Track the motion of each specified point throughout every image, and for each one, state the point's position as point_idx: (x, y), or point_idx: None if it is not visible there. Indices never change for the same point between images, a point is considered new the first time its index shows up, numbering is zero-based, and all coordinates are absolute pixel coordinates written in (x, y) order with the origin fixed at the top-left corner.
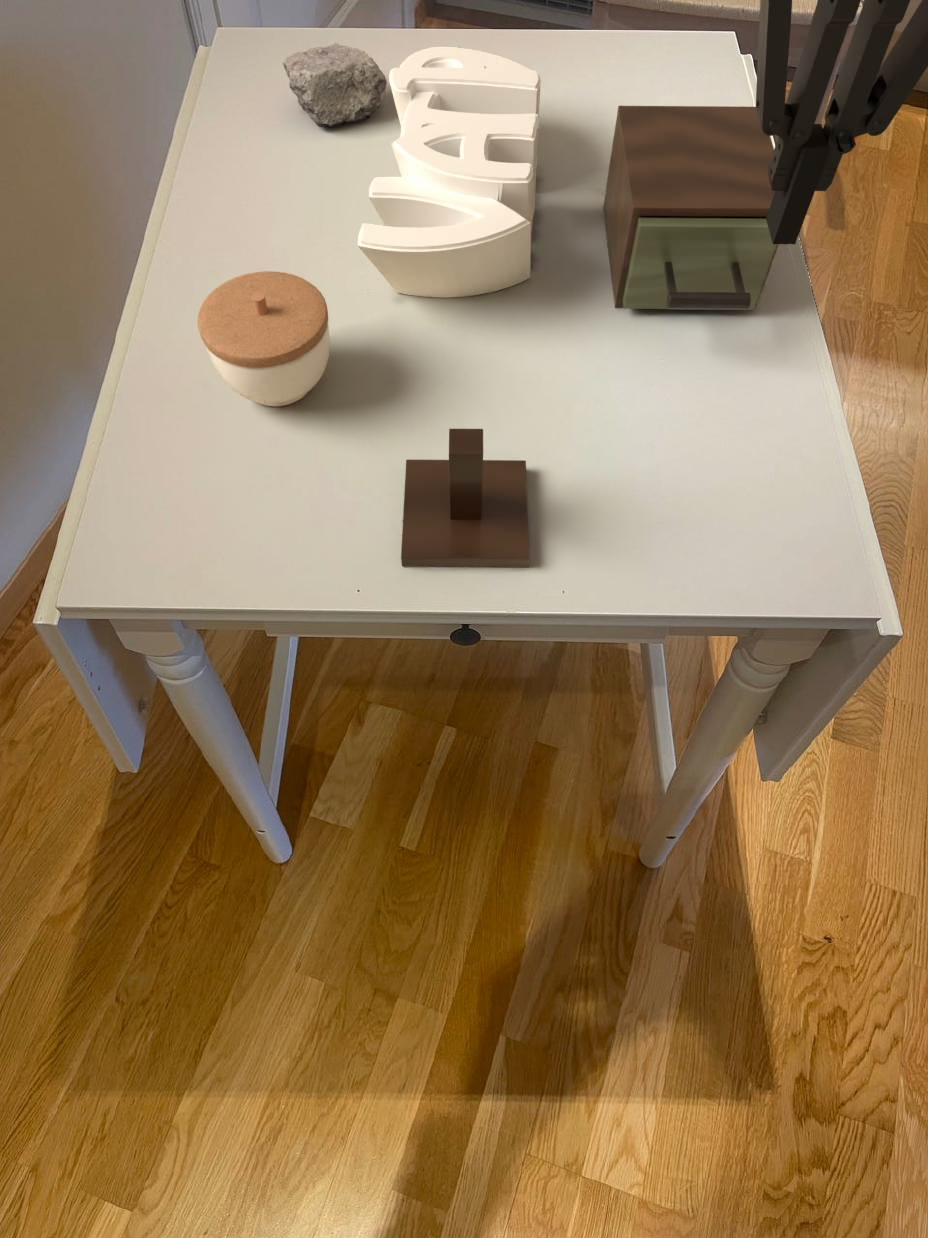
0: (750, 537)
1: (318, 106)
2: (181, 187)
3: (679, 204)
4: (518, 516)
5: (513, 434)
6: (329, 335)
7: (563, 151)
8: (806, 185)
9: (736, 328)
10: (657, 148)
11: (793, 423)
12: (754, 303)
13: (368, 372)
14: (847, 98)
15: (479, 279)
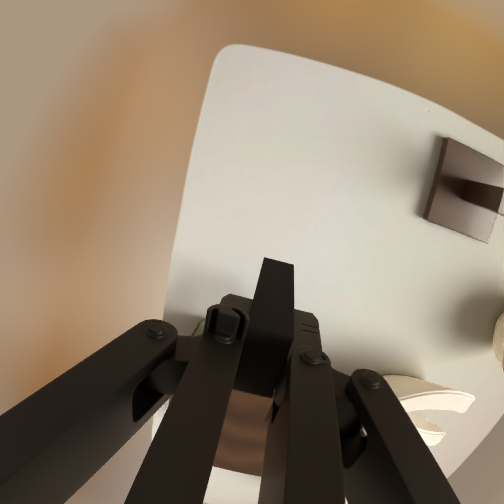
0: (288, 113)
1: None
2: (472, 448)
3: (262, 400)
4: (445, 173)
5: (418, 251)
6: (502, 339)
7: None
8: (273, 297)
9: None
10: (254, 446)
11: (212, 209)
12: (202, 322)
13: (471, 323)
14: (230, 393)
15: (392, 380)
